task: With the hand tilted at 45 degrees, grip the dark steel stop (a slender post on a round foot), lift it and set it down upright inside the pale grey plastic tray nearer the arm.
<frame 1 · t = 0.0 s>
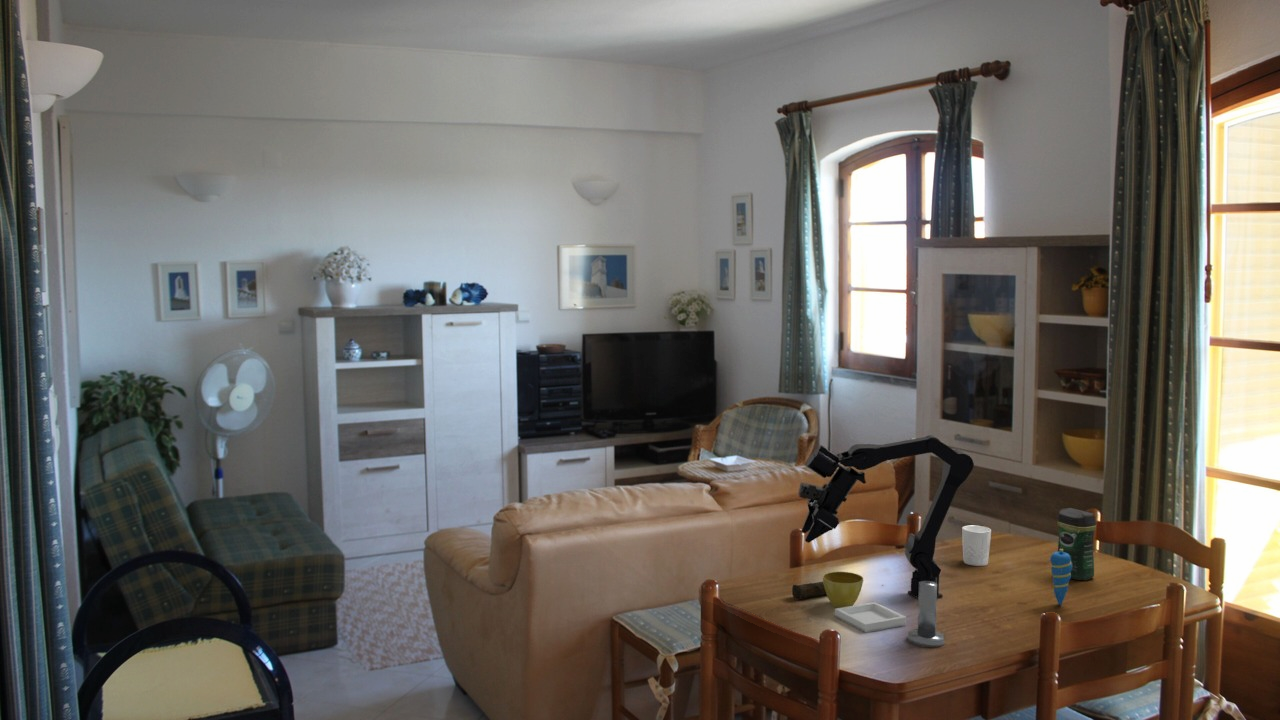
hand: (804, 536, 269), 15 cm above the table, tool tilted 35°, fingers open, 9 cm apart
white cup: (975, 563, 298), on the table
hand tool: (824, 595, 269), on the table
ornament: (1059, 605, 261), on the table
coffee jar: (1074, 576, 285), on the table
flower pot: (842, 605, 261), on the table
steel stop: (926, 641, 236), on the table
tray: (870, 620, 249), on the table
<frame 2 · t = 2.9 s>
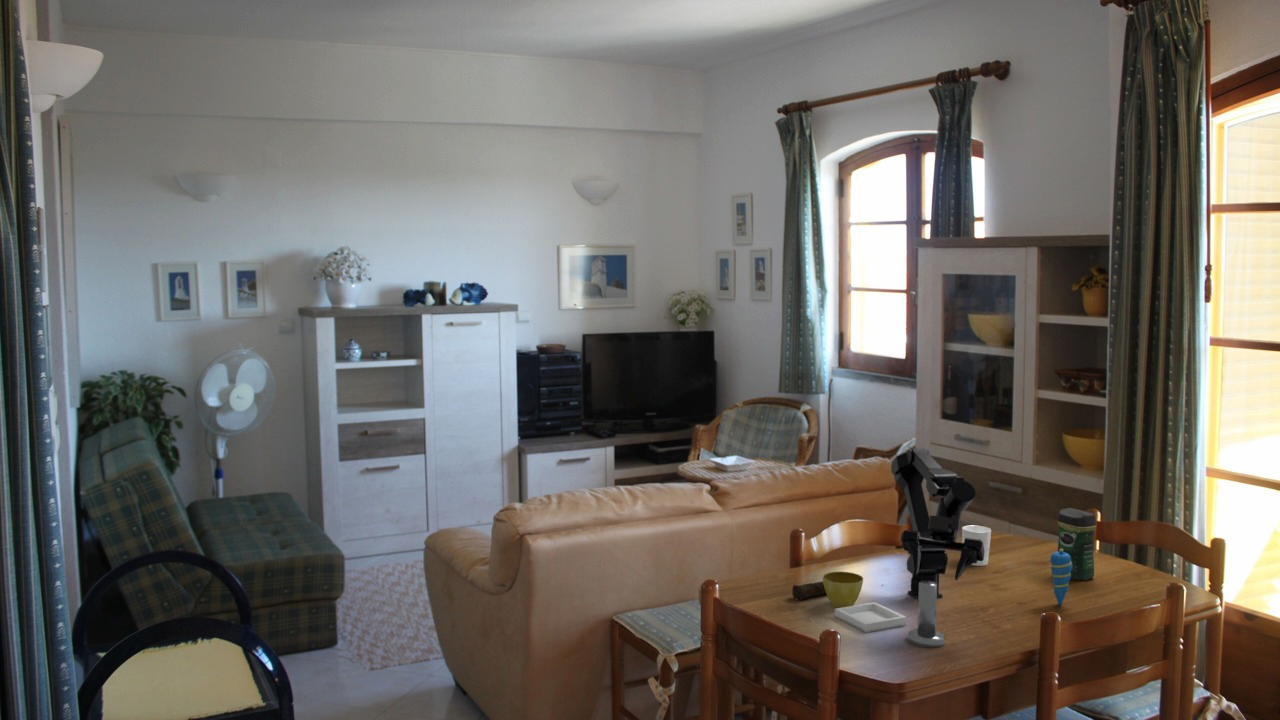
hand: (935, 576, 241), 13 cm above the table, tool tilted 45°, fingers open, 9 cm apart
nothing on the table moved.
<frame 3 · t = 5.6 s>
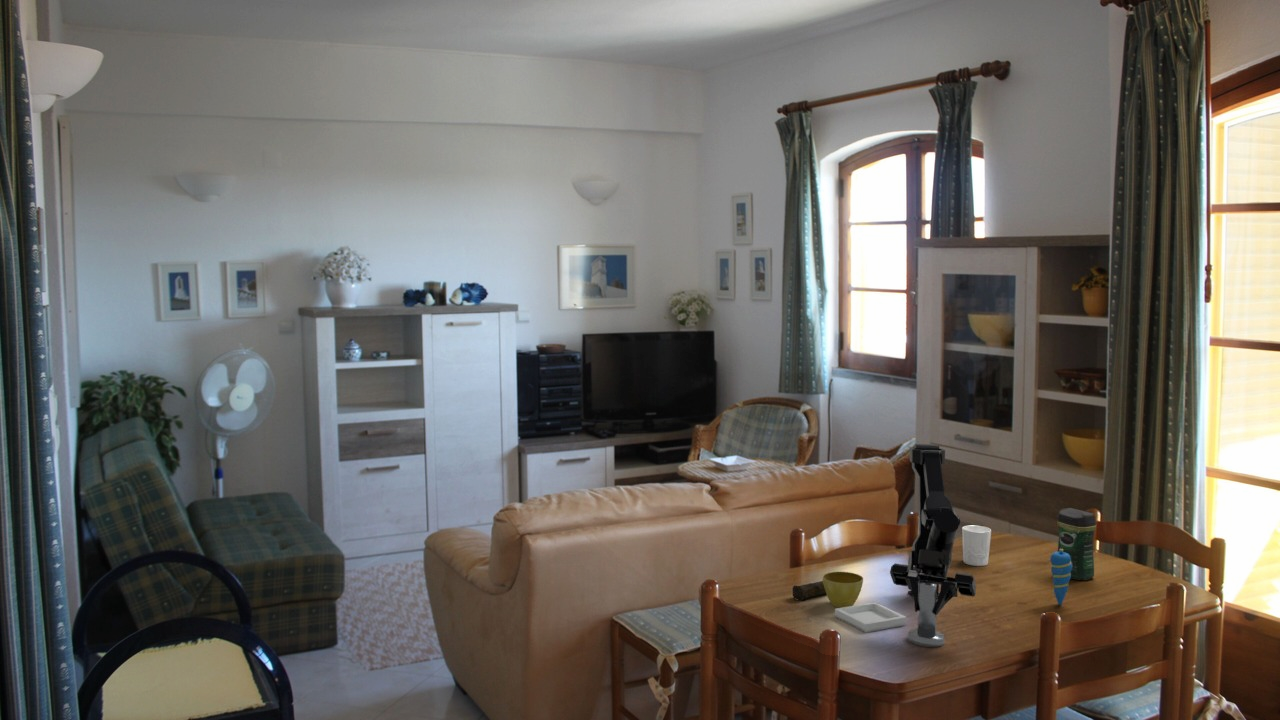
hand: (925, 612, 234), 7 cm above the table, tool tilted 45°, fingers closed on steel stop, 4 cm apart
steel stop: (926, 640, 236), on the table, touching gripper
everything else where it was.
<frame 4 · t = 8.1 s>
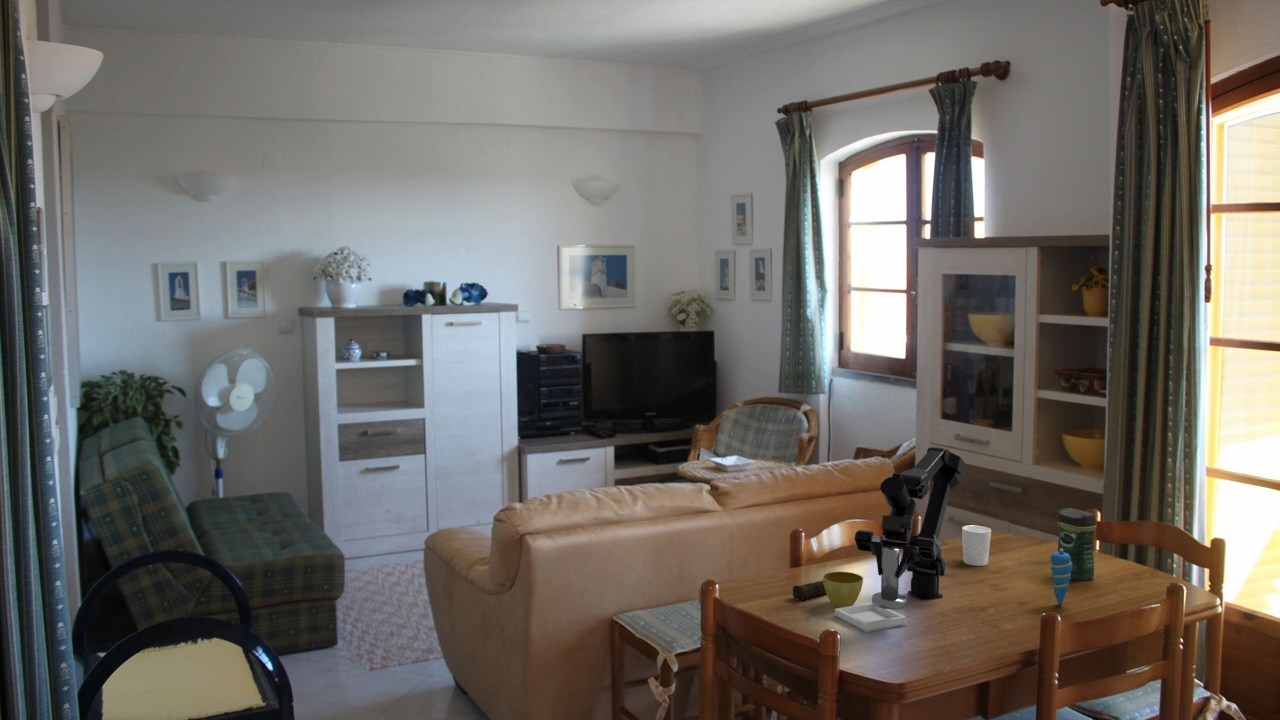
hand: (888, 576, 242), 13 cm above the table, tool tilted 45°, fingers closed on steel stop, 4 cm apart
steel stop: (889, 603, 244), point 6 cm above the table, touching gripper
when the fingers open (8 cm above the table, at t = 10.9 s): steel stop stays where it is, resting on tray.
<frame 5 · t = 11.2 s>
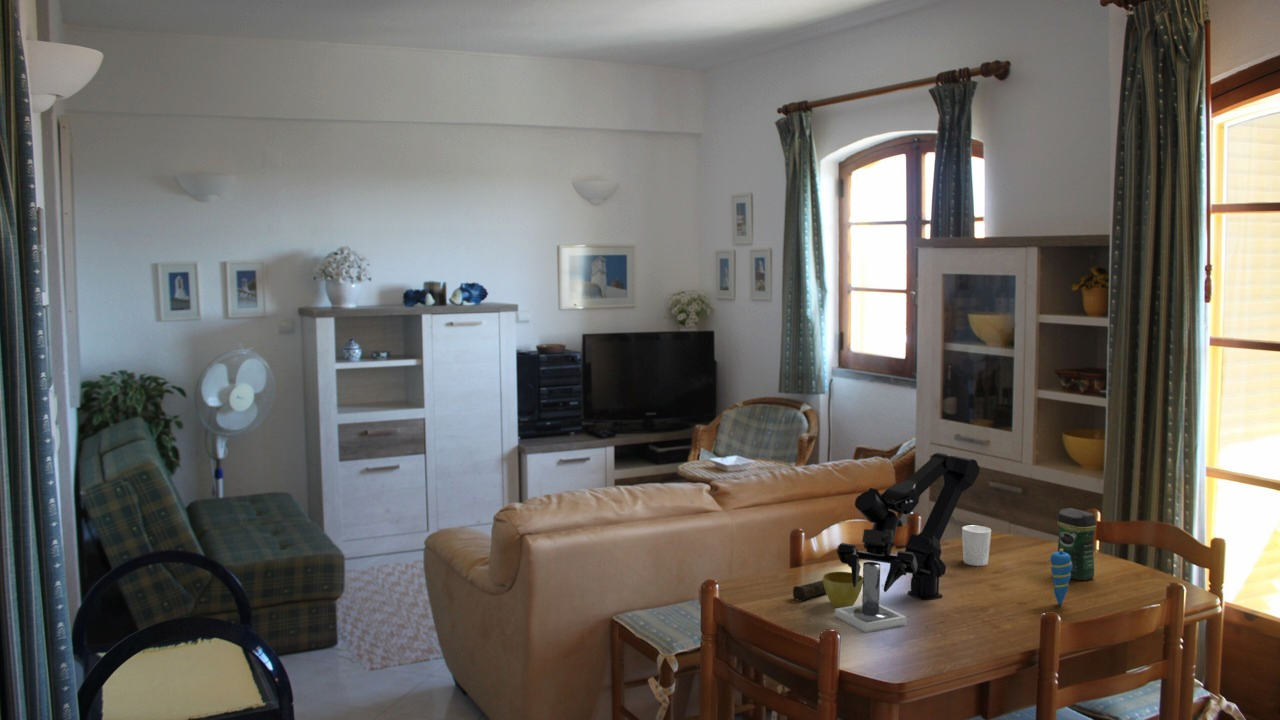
hand: (869, 588, 247), 8 cm above the table, tool tilted 45°, fingers open, 7 cm apart
steel stop: (870, 618, 249), resting on tray
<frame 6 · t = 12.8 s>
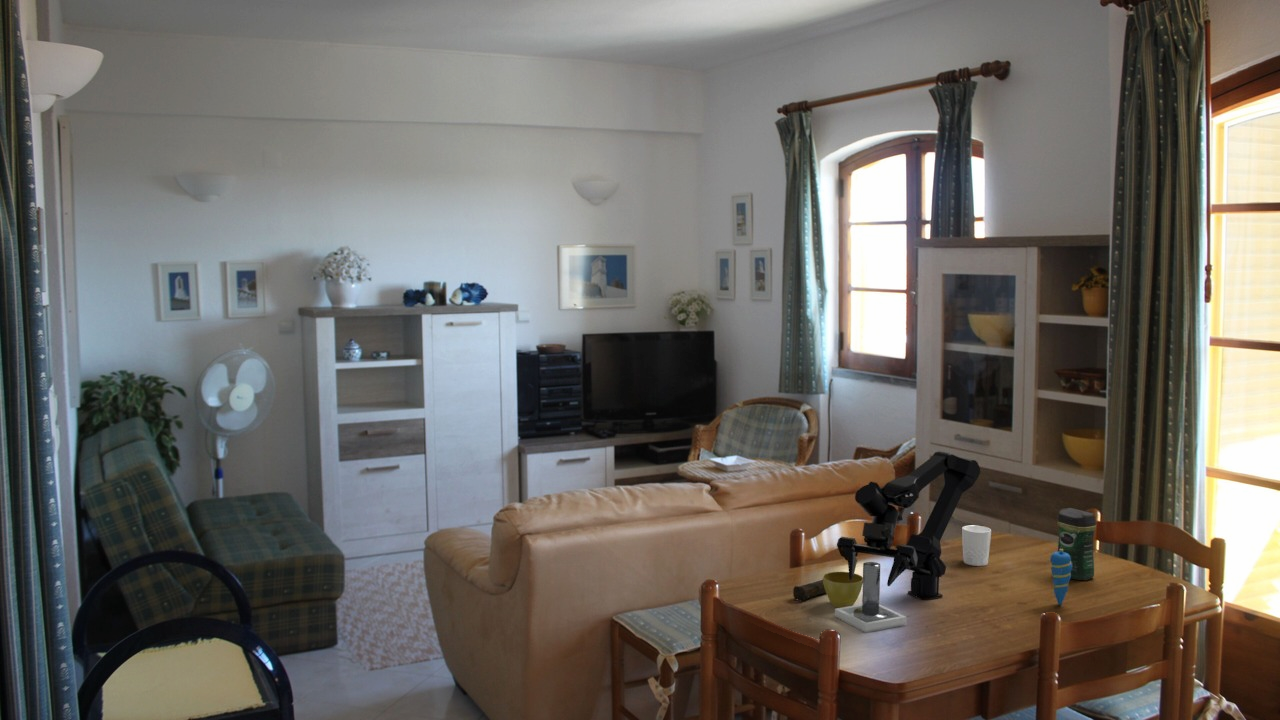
hand: (869, 582, 247), 10 cm above the table, tool tilted 45°, fingers open, 9 cm apart
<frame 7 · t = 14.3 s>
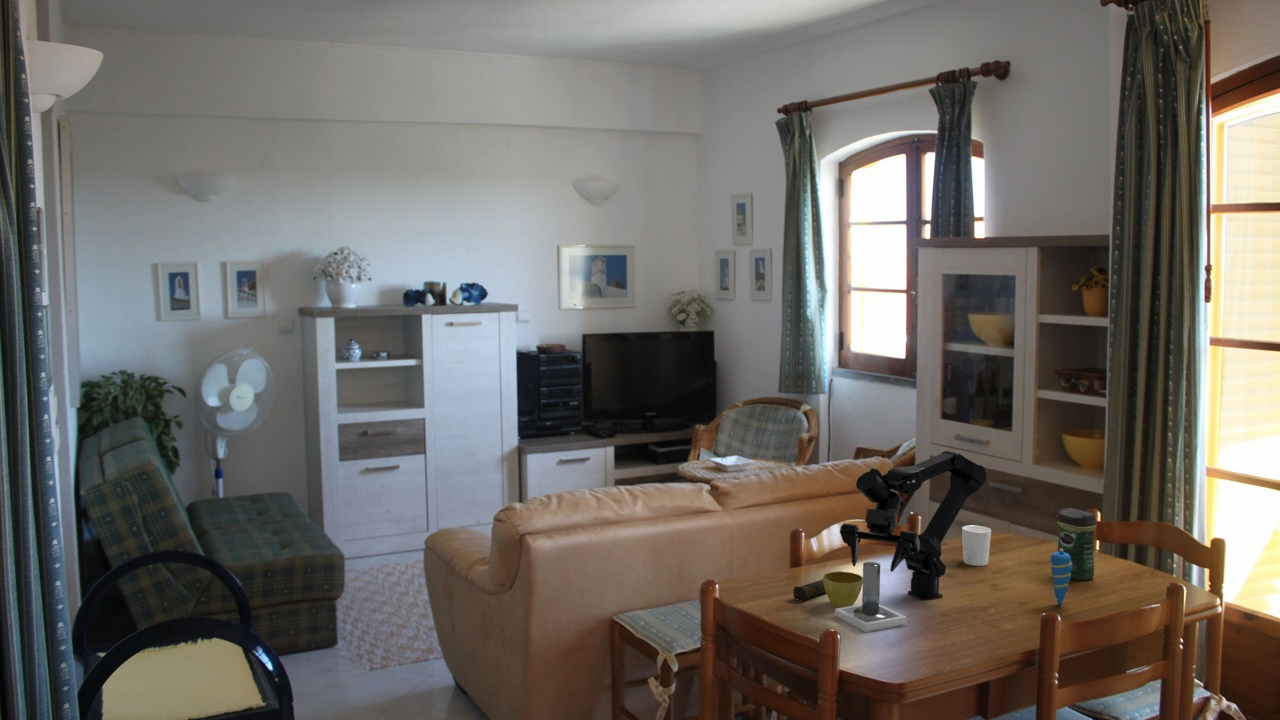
hand: (872, 568, 248), 13 cm above the table, tool tilted 45°, fingers open, 9 cm apart
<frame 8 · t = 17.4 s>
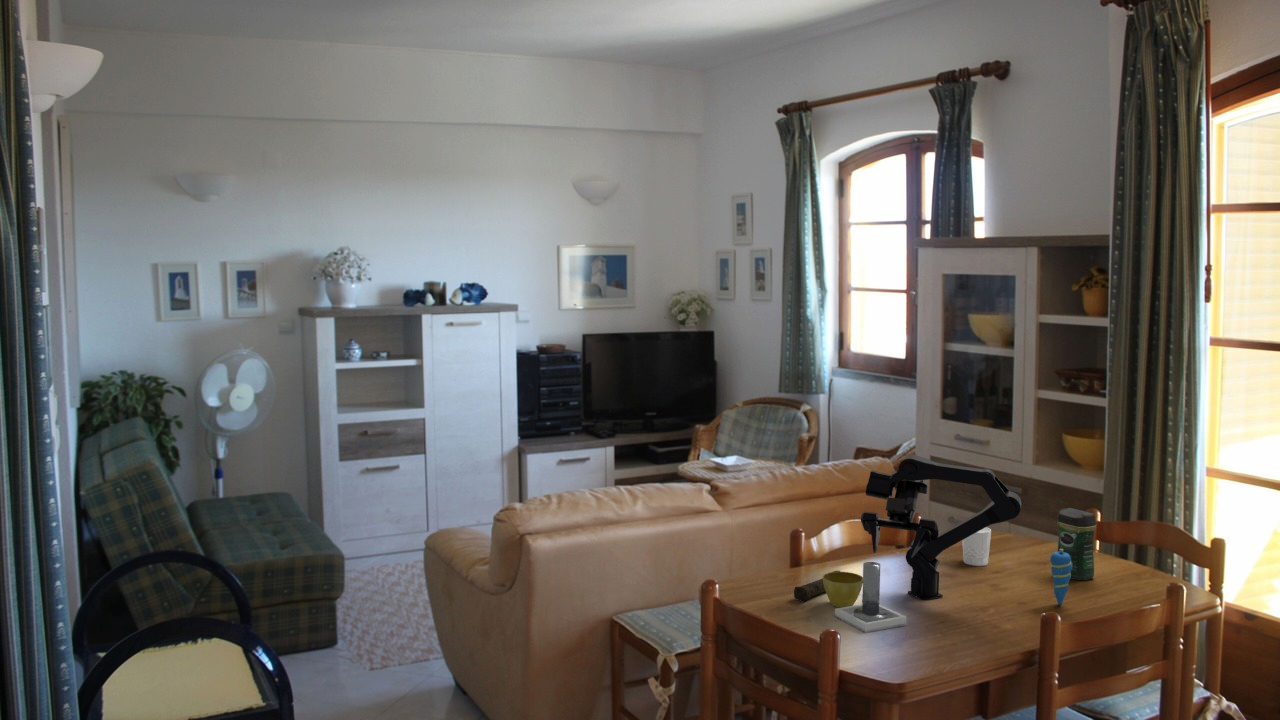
hand: (892, 554, 257), 14 cm above the table, tool tilted 45°, fingers open, 9 cm apart
at the end: steel stop inside the target area on the tray (0.1 cm from its centre), point 0.5 cm above the tray's base; steel stop tilted 0°; the gripper is holding nothing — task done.
